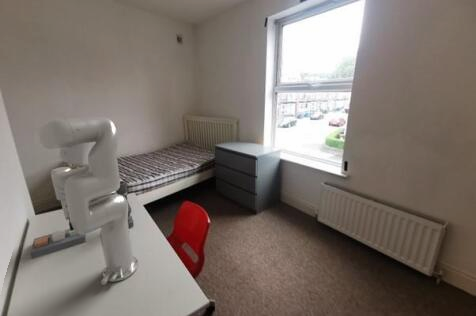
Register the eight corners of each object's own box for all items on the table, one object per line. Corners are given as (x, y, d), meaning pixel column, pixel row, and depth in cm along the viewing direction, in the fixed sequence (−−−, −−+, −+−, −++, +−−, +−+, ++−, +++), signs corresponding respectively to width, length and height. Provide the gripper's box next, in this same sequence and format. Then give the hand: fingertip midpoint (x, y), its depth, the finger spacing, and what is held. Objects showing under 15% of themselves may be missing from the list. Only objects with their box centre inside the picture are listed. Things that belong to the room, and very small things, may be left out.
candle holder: (136, 225, 115) (129, 182, 109) (125, 231, 110) (118, 186, 103) (129, 222, 118) (122, 179, 112) (118, 227, 113) (110, 183, 106)
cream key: (66, 235, 104) (64, 229, 103) (65, 240, 100) (64, 233, 99) (54, 239, 101) (52, 232, 100) (53, 243, 98) (51, 237, 97)
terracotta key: (50, 242, 100) (48, 236, 99) (49, 247, 97) (47, 240, 96) (37, 246, 98) (35, 239, 97) (36, 251, 94) (34, 244, 94)
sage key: (81, 231, 107) (80, 225, 106) (82, 235, 104) (80, 229, 103) (70, 234, 105) (69, 228, 104) (70, 238, 101) (69, 232, 100)
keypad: (84, 229, 111) (83, 224, 110) (85, 241, 102) (84, 236, 101) (35, 244, 100) (34, 238, 100) (31, 258, 91) (30, 253, 90)
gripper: (77, 197, 95) (84, 233, 100) (76, 186, 106) (83, 219, 111) (55, 202, 91) (64, 239, 96) (56, 190, 102) (65, 224, 107)
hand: (74, 228), depth 103 cm, fingers closed
